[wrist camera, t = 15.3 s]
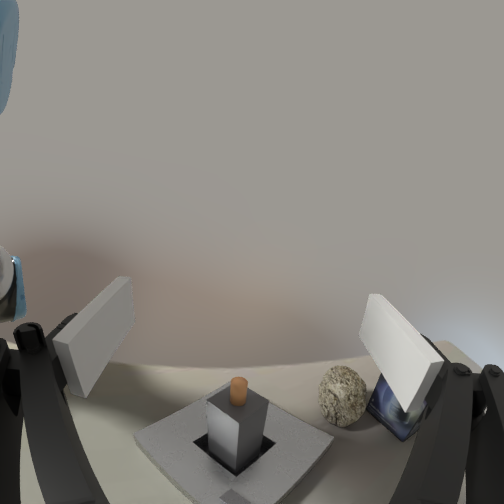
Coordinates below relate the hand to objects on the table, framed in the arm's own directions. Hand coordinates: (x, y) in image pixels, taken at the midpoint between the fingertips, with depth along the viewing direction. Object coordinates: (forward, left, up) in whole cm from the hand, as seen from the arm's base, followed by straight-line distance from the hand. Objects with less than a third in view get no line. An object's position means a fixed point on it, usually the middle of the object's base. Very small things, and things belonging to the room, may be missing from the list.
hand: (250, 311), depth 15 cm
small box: (+10, +29, -29) cm, 43 cm away
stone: (0, +24, -29) cm, 38 cm away
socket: (-7, +7, -29) cm, 31 cm away
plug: (-7, +7, -29) cm, 30 cm away
